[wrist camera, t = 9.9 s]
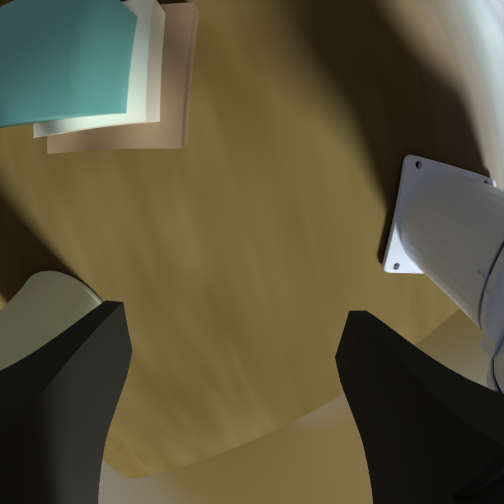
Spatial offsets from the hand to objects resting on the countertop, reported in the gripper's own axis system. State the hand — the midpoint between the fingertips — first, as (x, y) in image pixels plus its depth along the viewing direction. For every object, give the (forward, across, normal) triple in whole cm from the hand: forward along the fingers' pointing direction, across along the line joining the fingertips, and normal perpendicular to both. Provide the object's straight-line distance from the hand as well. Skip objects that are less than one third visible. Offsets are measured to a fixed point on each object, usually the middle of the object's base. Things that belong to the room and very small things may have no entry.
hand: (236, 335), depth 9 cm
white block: (+8, +7, -9) cm, 14 cm away
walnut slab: (+10, +7, -9) cm, 15 cm away
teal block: (+5, +7, -9) cm, 12 cm away
